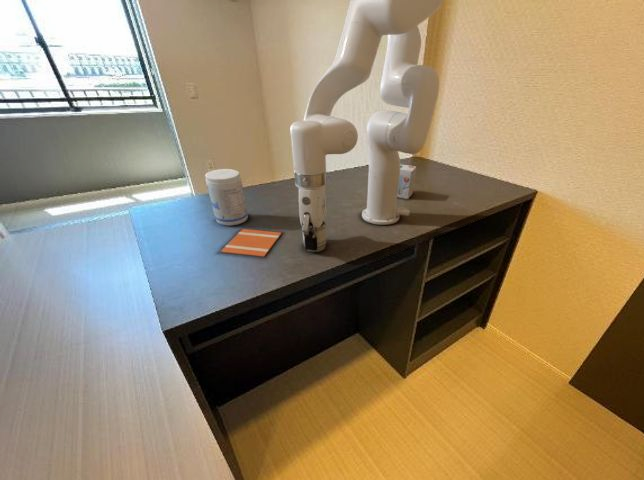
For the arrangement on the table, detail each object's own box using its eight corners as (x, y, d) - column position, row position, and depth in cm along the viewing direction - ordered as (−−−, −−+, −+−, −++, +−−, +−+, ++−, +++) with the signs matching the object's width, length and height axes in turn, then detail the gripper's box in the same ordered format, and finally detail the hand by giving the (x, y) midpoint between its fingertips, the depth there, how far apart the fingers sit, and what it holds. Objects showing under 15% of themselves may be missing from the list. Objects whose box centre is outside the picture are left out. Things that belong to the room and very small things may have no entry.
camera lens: (306, 254, 79) (304, 228, 75) (301, 243, 84) (298, 217, 80) (329, 250, 82) (328, 224, 77) (322, 239, 86) (321, 214, 82)
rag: (281, 233, 88) (281, 232, 88) (264, 257, 78) (264, 255, 78) (243, 229, 89) (242, 228, 89) (220, 252, 79) (220, 251, 79)
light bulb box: (382, 194, 116) (384, 166, 110) (387, 189, 121) (389, 162, 115) (408, 199, 113) (412, 171, 107) (413, 193, 118) (416, 166, 112)
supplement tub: (210, 219, 94) (197, 173, 85) (237, 210, 100) (228, 166, 91) (227, 230, 89) (215, 181, 80) (254, 219, 95) (246, 173, 86)
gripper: (317, 192, 64) (320, 261, 75) (333, 168, 78) (334, 229, 89) (283, 189, 65) (291, 258, 75) (305, 166, 79) (309, 227, 89)
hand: (314, 242), depth 82 cm, fingers closed on camera lens, 6 cm apart
